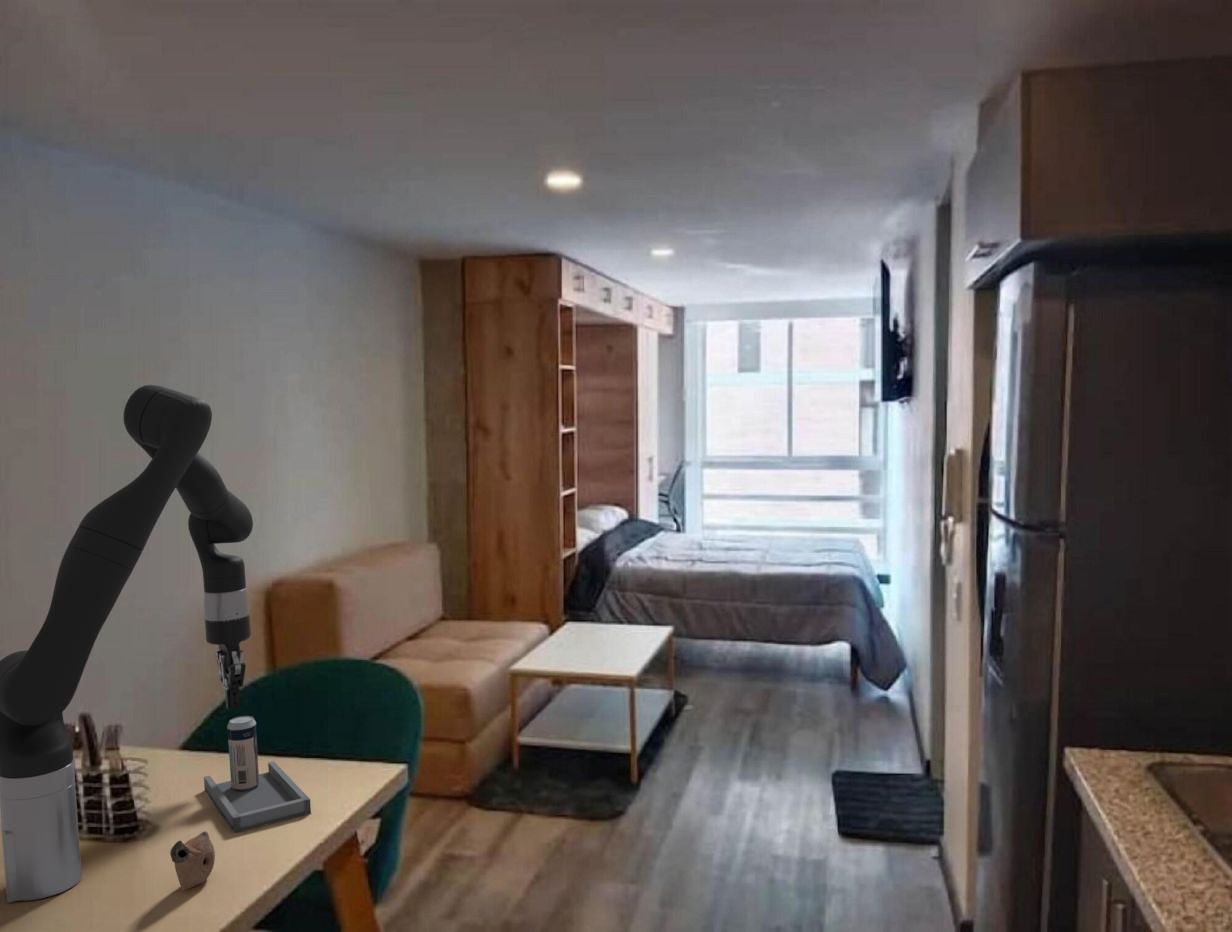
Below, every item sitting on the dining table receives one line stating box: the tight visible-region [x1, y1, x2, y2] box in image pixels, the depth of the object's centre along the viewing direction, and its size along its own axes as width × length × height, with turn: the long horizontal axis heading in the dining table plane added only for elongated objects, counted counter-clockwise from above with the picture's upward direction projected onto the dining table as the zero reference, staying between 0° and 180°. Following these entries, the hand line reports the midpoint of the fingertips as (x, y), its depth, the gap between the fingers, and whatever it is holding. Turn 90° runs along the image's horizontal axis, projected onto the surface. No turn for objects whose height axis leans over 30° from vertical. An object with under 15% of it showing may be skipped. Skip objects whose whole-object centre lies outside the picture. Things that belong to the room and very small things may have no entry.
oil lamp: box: [169, 831, 216, 891], centre depth 137 cm, size 9×4×8 cm, turn 173°
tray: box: [203, 760, 312, 834], centre depth 167 cm, size 12×22×2 cm, turn 34°
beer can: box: [226, 715, 260, 791], centre depth 172 cm, size 5×5×12 cm
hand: (233, 708), depth 178 cm, fingers closed
